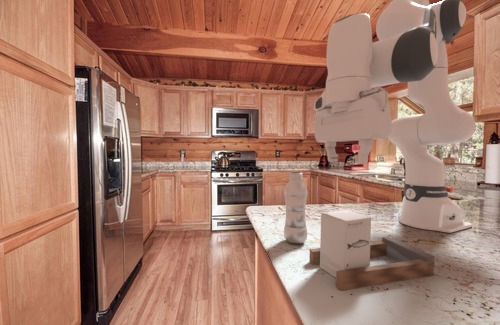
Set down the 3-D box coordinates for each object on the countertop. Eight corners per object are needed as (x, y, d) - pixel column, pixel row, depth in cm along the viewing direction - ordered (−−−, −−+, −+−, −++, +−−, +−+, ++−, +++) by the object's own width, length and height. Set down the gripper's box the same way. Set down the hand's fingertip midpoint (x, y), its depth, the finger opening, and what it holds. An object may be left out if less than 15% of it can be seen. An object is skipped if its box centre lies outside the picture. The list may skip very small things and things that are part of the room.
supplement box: (343, 284, 47) (345, 220, 46) (318, 267, 54) (319, 211, 53) (370, 276, 50) (372, 216, 49) (343, 261, 57) (345, 208, 56)
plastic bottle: (302, 248, 64) (303, 174, 63) (279, 243, 68) (280, 172, 67) (310, 240, 70) (311, 172, 69) (288, 236, 73) (289, 171, 72)
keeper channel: (388, 251, 62) (388, 236, 62) (434, 275, 51) (434, 256, 50) (309, 261, 57) (309, 245, 56) (340, 290, 45) (341, 269, 45)
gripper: (402, 84, 41) (399, 165, 42) (332, 106, 61) (331, 160, 61) (371, 81, 39) (368, 165, 40) (310, 104, 59) (309, 160, 60)
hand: (345, 162), depth 51 cm, fingers open, 8 cm apart
